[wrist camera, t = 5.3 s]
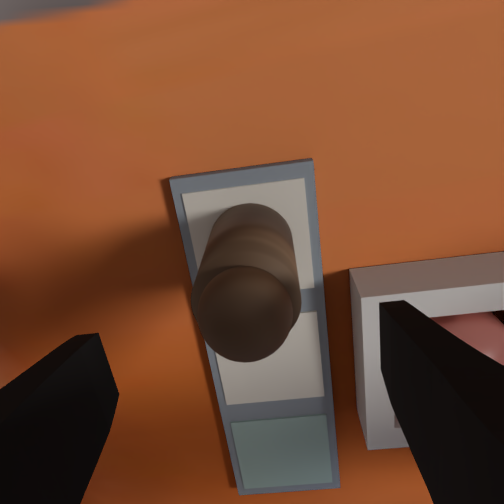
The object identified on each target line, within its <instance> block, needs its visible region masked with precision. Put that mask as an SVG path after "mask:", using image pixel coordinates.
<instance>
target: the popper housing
mask: <svg viewBox="0 0 504 504" xmlns="http://www.w3.org/2000/svg"><path fill="white" fill-rule="evenodd" d="M349 274H350V293H351V311H352V329H353V347H354V366H355V384H356V402H357V412H358V415H359V419H360V423H361V427H362V430H363V434H364V438H365V441H366V445H367V449H368V450H376V449H388V448H401V447H409V445H408V443H407V441H406V438H405V436H404V434H403V431H402V429H401V427H400V424H399V422H398V420H397V418H396V415H395V413H394V411H393V408H392V406H391V403H390V399H389V396H388V393H387V390H386V386H385V383H384V379H383V376H382V372H381V366H380V325H379V303H380V302H389V301H399V300H405V301H407V302H408V303H410V304H411V305H412V306H414V307H415V308H417V309H418V310H419V311H421V312H422V313H424V314H425V315H426V316H428V317H429V318H430V317H439V316H449V315H459V314H469V313H479V312H488V311H498V310H504V252H495V253H486V254H477V255H468V256H459V257H451V258H442V259H433V260H424V261H415V262H406V263H397V264H389V265H380V266H371V267H362V268H353V269H349Z"/></svg>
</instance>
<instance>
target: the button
mask: <svg viewBox="0 0 504 504" xmlns="http://www.w3.org/2000/svg"><path fill="white" fill-rule="evenodd" d="M430 318H431V319H432V320H433V321H435V322H436V323H438V324H439V325H440V326H442V327H443V328H445V329H446V330H448V331H449V332H451V333H452V334H454V335H455V336H457V337H458V338H459V339H461V340H463V341H464V342H466V343H467V344H469V345H470V346H472V347H473V348H475V349H477V350H478V351H480V352H481V353H483V354H485V355H487V356H488V357H490V358H492V359H493V360H495V361H497V362H498V363H500V364H502V365H504V324H503V323H502V322H501V321H500V320H499V319H498V318H497V317H496V316H495V315H494V313H493V312H492V311H488V312H479V313H469V314H459V315H449V316H439V317H430Z"/></svg>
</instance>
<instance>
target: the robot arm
mask: <svg viewBox="0 0 504 504" xmlns="http://www.w3.org/2000/svg"><path fill="white" fill-rule="evenodd" d="M379 325H380V366H381V372H382V376H383V379H384V383H385V386H386V390H387V393H388V396H389V399H390V403H391V406H392V408H393V411H394V413H395V415H396V418H397V420H398V422H399V424H400V427H401V429H402V431H403V434H404V436H405V438H406V441H407V443H408V445H409V447H410V450H411V452H412V454H413V456H414V459H415V461H416V463H417V466H418V468H419V470H420V472H421V475H422V477H423V479H424V481H425V484H426V486H427V488H428V491H429V493H430V496H431V498H432V501H433V503H434V504H504V365H502V364H500V363H498V362H497V361H495V360H493V359H492V358H490V357H488V356H487V355H485V354H483V353H481V352H480V351H478V350H477V349H475V348H473V347H472V346H470V345H469V344H467V343H466V342H464V341H463V340H461V339H459V338H458V337H457V336H455V335H454V334H452V333H451V332H449V331H448V330H446V329H445V328H443V327H442V326H440V325H439V324H438V323H436V322H435V321H433V320H432V319H431V318H429V317H428V316H426V315H425V314H424V313H422V312H421V311H419V310H418V309H417V308H415V307H414V306H412V305H411V304H410V303H408V302H407V301H405V300H399V301H389V302H380V303H379ZM118 397H119V392H118V389H117V386H116V383H115V380H114V377H113V374H112V372H111V369H110V366H109V363H108V360H107V357H106V354H105V351H104V348H103V345H102V342H101V339H100V336H99V333H93V334H84V335H76V336H74V337H72V338H71V339H69V340H68V341H66V342H65V343H63V344H62V345H60V346H59V347H57V348H56V349H54V350H53V351H52V352H50V353H49V354H48V355H46V356H45V357H44V358H42V359H41V360H39V361H38V362H37V363H35V364H34V365H33V366H31V367H30V368H29V369H27V370H26V371H25V372H23V373H22V374H21V375H19V376H18V377H17V378H15V379H14V380H12V381H11V382H10V383H8V384H7V385H6V386H4V387H3V388H1V389H0V504H80V503H81V501H82V498H83V496H84V493H85V491H86V488H87V486H88V484H89V481H90V479H91V476H92V474H93V472H94V469H95V467H96V464H97V462H98V459H99V457H100V454H101V452H102V449H103V447H104V444H105V442H106V439H107V437H108V434H109V432H110V428H111V425H112V421H113V418H114V414H115V410H116V406H117V401H118Z"/></svg>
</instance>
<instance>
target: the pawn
mask: <svg viewBox="0 0 504 504" xmlns="http://www.w3.org/2000/svg"><path fill="white" fill-rule="evenodd" d="M301 304H302V300H301V291H300V285H299V278H298V271H297V265H296V258H295V252H294V245H293V238H292V233H291V230H290V227H289V225H288V223H287V222H286V220H285V219H284V218H283V217H282V216H281V215H280V214H279V213H278V212H277V211H275V210H273V209H272V208H270V207H268V206H265V205H262V204H256V203H245V204H240V205H237V206H234V207H232V208H230V209H228V210H226V211H225V212H224V213H223V214H221V215H220V216H219V218H218V219H217V220H216V222H215V223H214V225H213V227H212V230H211V233H210V236H209V239H208V242H207V245H206V248H205V251H204V254H203V257H202V260H201V264H200V267H199V270H198V273H197V276H196V279H195V282H194V285H193V288H192V293H191V306H192V311H193V314H194V316H195V319H196V321H197V322H198V325H199V329H200V332H201V334H202V336H203V338H204V340H205V341H206V343H207V344H208V345H209V347H210V348H211V349H212V350H213V351H215V352H216V353H217V354H219V355H220V356H222V357H224V358H226V359H228V360H231V361H235V362H243V363H247V362H255V361H259V360H262V359H264V358H266V357H268V356H270V355H271V354H273V353H274V352H275V351H277V350H278V349H279V348H280V347H281V345H282V344H283V343H284V341H285V340H286V338H287V336H288V334H289V332H290V330H291V329H292V328H293V327H294V325H295V323H296V322H297V320H298V317H299V315H300V311H301Z"/></svg>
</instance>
